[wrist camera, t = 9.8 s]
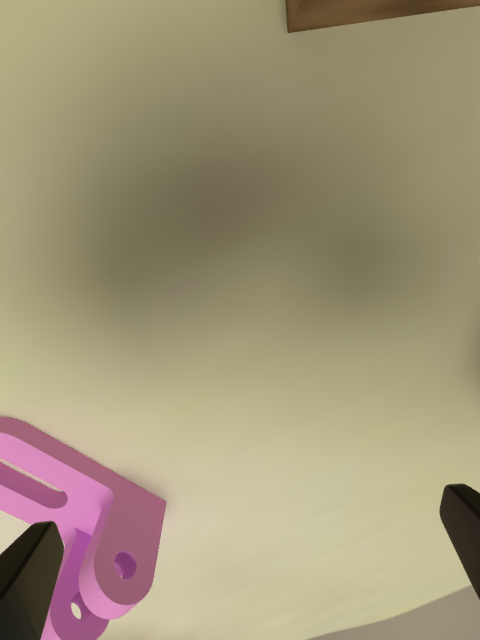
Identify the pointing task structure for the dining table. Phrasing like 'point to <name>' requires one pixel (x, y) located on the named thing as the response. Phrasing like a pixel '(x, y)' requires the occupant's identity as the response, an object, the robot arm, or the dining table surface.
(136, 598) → the bracket
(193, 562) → the dining table surface
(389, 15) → the walnut block
